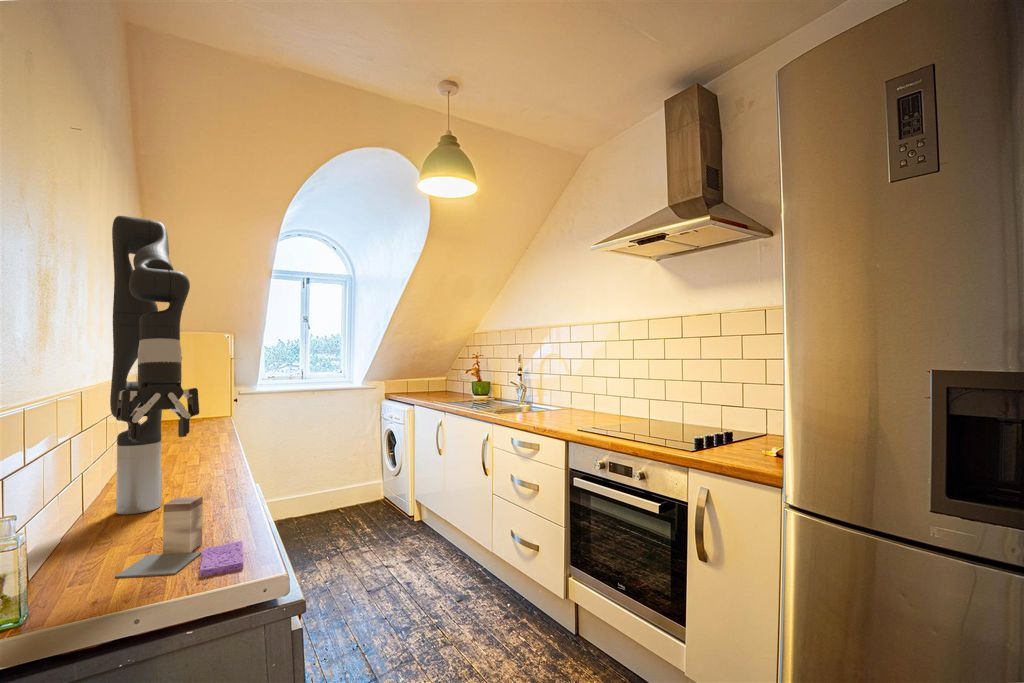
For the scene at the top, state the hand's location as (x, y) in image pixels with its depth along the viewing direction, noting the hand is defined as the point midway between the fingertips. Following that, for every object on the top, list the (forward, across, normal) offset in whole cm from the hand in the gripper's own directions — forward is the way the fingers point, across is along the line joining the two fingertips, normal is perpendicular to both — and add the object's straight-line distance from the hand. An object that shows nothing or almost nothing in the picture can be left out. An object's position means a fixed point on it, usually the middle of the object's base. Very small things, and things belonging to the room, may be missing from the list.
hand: (159, 439), depth 102 cm
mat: (+23, +3, +8) cm, 25 cm away
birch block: (+23, -3, +3) cm, 23 cm away
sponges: (+25, -4, +16) cm, 29 cm away
